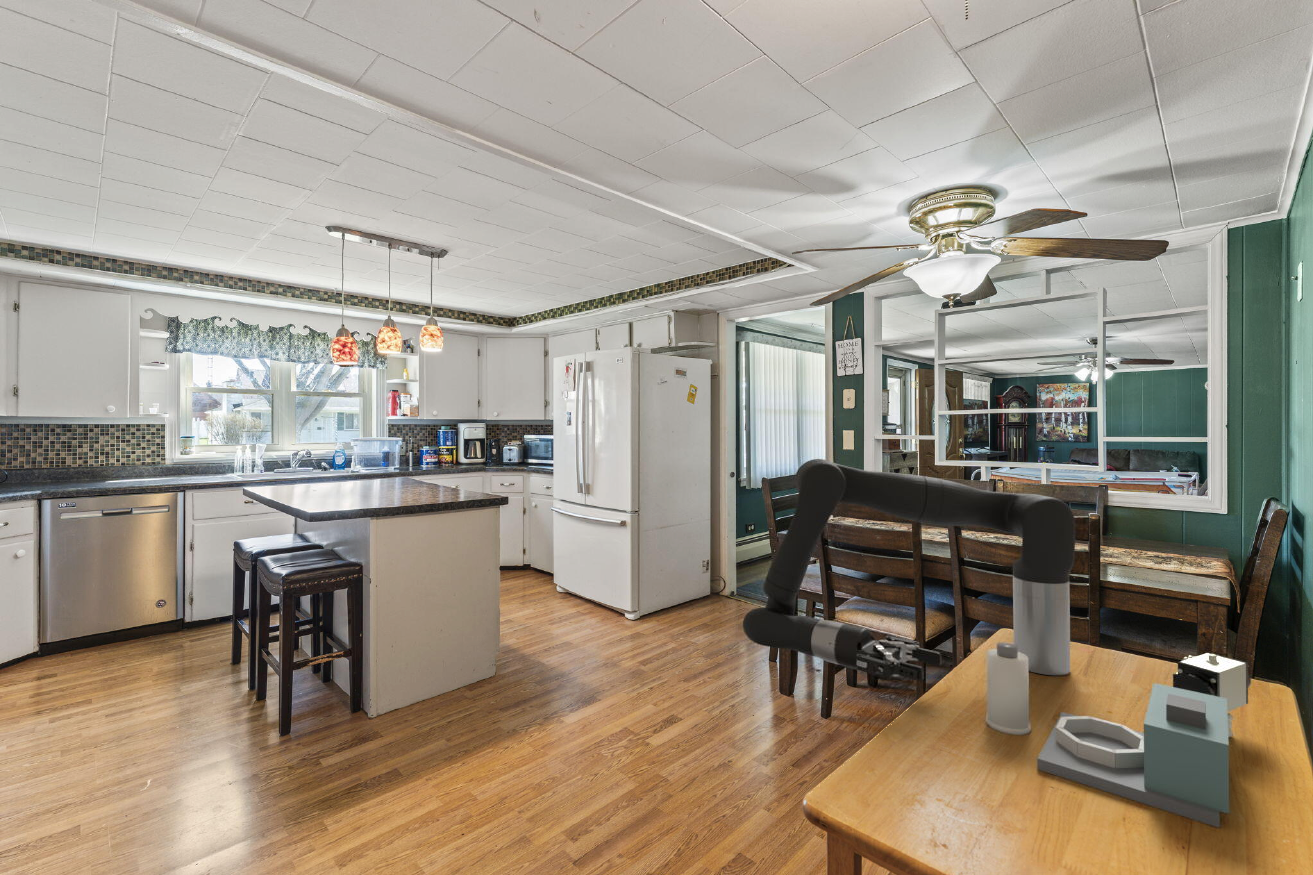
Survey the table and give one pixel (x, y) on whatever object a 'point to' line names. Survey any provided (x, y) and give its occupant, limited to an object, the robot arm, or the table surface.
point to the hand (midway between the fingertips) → (932, 666)
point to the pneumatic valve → (1215, 679)
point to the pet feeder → (1151, 754)
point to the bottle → (1008, 690)
